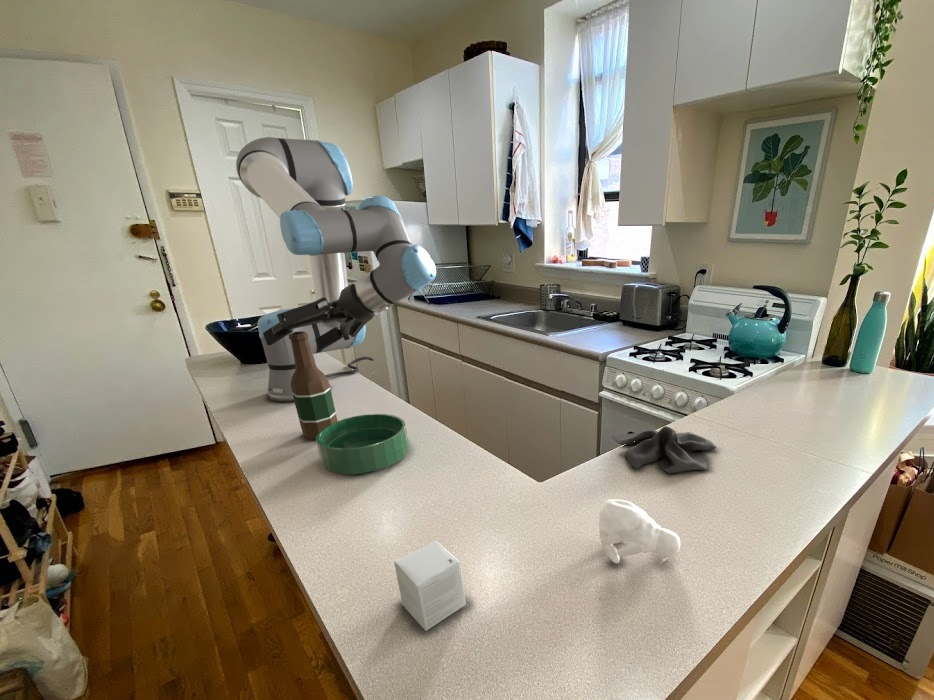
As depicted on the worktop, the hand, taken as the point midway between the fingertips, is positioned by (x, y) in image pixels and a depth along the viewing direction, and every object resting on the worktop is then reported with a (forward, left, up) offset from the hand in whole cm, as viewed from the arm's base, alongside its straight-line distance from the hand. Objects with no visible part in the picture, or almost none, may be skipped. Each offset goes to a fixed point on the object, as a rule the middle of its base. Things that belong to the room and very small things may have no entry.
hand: (294, 342), depth 101 cm
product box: (+50, +46, -22) cm, 71 cm away
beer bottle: (+1, +2, -22) cm, 22 cm away
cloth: (+5, +80, -22) cm, 83 cm away
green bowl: (+11, +18, -22) cm, 30 cm away
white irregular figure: (+38, +73, -22) cm, 85 cm away
